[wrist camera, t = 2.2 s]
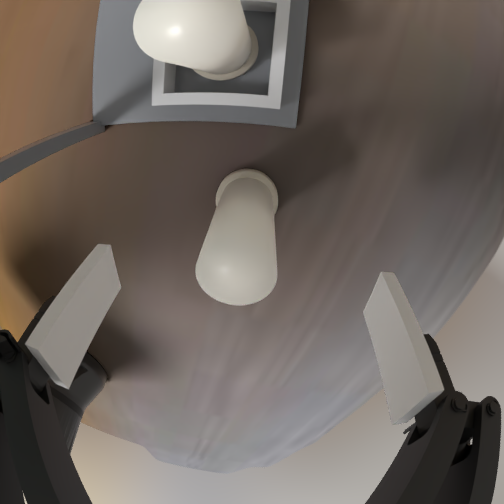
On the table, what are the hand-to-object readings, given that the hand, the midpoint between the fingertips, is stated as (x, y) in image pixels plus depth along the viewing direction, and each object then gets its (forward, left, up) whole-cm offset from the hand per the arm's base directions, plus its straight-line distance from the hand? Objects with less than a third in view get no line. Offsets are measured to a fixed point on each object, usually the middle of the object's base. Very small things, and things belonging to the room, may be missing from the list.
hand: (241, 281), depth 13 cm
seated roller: (-3, +11, -10) cm, 15 cm away
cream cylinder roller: (0, 0, -11) cm, 11 cm away
